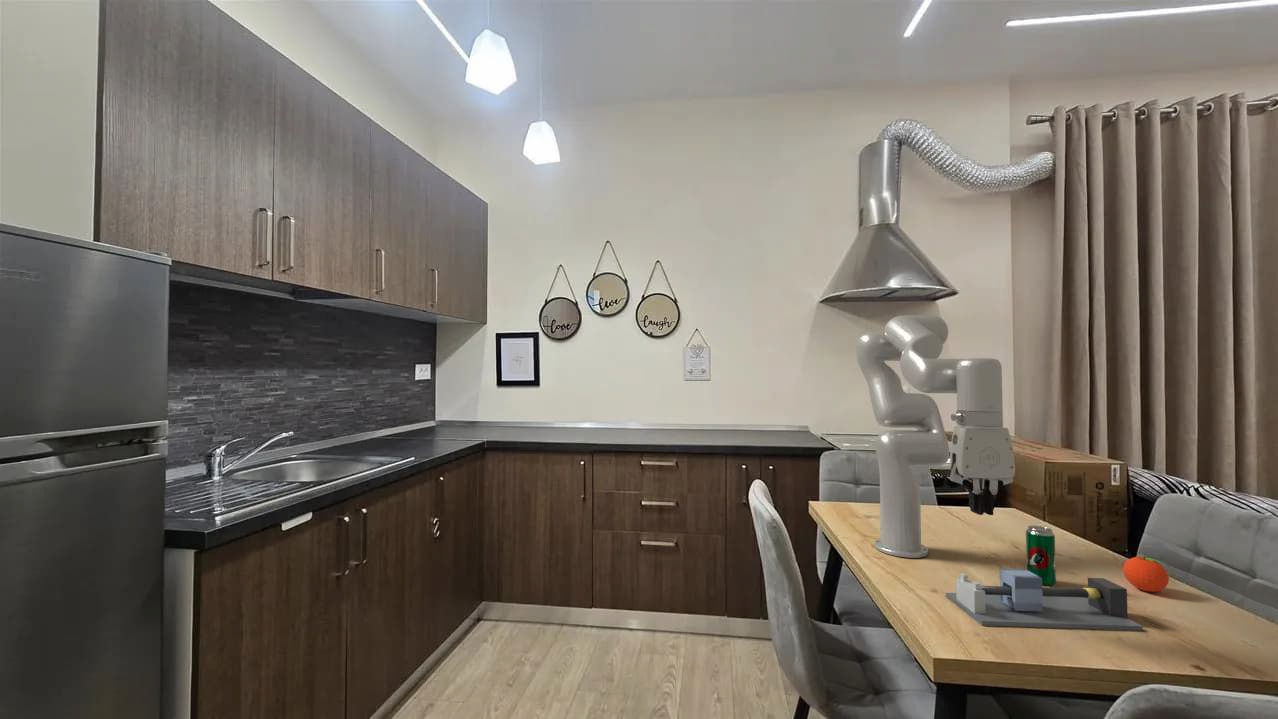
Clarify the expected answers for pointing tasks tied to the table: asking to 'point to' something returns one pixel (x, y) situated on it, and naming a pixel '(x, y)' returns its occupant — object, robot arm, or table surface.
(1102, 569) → the table surface
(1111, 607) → the linear slide rail
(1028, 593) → the sleeve
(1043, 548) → the soda can
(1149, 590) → the clementine
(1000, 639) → the table surface
